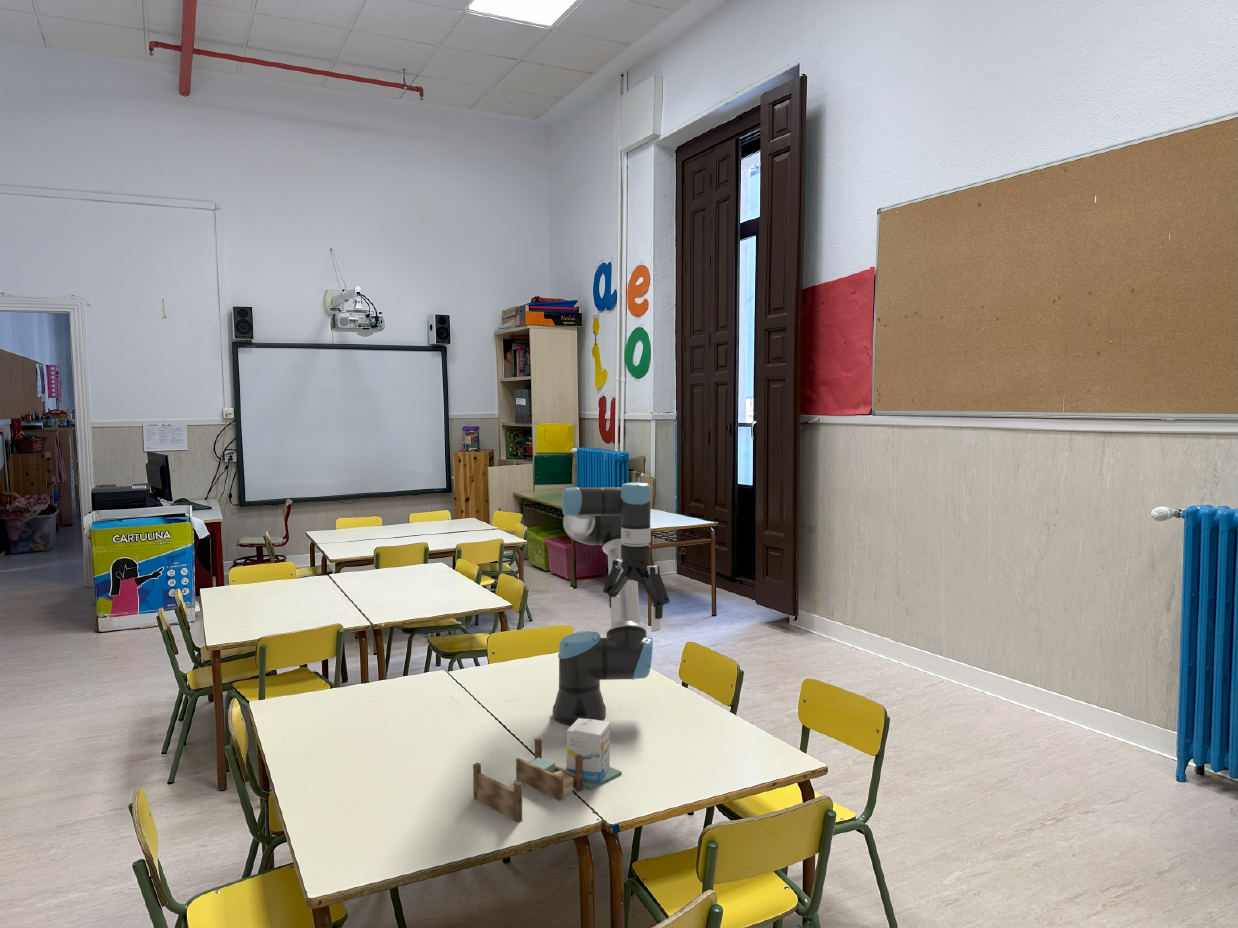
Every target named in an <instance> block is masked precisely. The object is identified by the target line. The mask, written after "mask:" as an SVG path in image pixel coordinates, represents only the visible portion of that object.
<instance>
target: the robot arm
mask: <svg viewBox="0 0 1238 928" xmlns="http://www.w3.org/2000/svg"><path fill="white" fill-rule="evenodd" d="M651 494H652V491H651V484H649V483H646V482H626V483H623V484H622V485H621V487H619V486H617V487H616V486H612V487H610V486H609V487H608V486H607V487H606V486H605V487H578V486H574V487H566V488H564V489H563V490H562V499H561V500H562V514H563V519H562V526H563V530H564V532H565V533H566V535H567V536H568V537H569V538H570V539H572V540H574V541H576V542H578V543H581V544H584V545H589V546H602V548H601V549H602V552H603V553H604V554H606V555H607V568H608V577H607V580H606V582H605V585H604V586H603V589H602V591H603V593H604V594H607V595H608V598H609V600H608V601H609V602H608V603H609V604H608V605H609V606H608V607H609V609H610V623H611V624H610V628H609V629H607V631H606V633H605V634H606V635H605V636H606V637H601V635H600V633H599V632H597V631H594V630H593V631H591V630H588V631H587V630H585V631H578V632H573V633H570V634H567V635H566V636H564V637H563V638H561V640H560V642H559V645H558V654H557V657H558V691H557V694H556V698H555V702H554V704H553V707H552V719H554V721H556V722H558V723H559V724H562V725H566V726H572V725H573V724H574V722H575V721H576V720H577V719H578V718H582V719H593V720H600V721H604V720H605V718H606V717H607V707H606V704H605V702H604V697H603V694H602V692H601V685H600V684H601V683H600V682H601V681H605V680H606V681H608V680H609V681H612V680H613V681H615V680H632V681H634V680H637V679H638V680H639V679H646V678H647V677H648V676H649V675H650V673H651V666H652V660H653V658H652V657H653V648H654V647H653V646H654V644H653V637H652V636H649V635H647V630H646V628H645V627H643V626H642V625H641V611H640V610H641V609H640V601H639V599H640V597H639V583H640V585H642V586H643V589H644V590H645V592H646V593H647V595H648V597H649V599H650V600H651V602H652V604H653V605H651V606H650V608H651V612H650V613H651V614H650V615H651V617H650V618H651V621H650V622H651V627H650V629H651V630H650V632H651V633H655V632H659V631H661V619H662V618H663V616H664V615H663V612H664V610H663V608H664V605H668V604H669V603H670V598H669V596H668V592H667V589H666V588H665V585H664V581H663V579H662V576H661V571H660V570H661V569H660V566H659V565H657V564H656V565H650V559H651V545H650V543H651V542H652V541H651V540H652V539H651V532H652V531H651V530H652V529H651V509H652V508H651V503H652V495H651ZM638 582H639V583H638Z"/></svg>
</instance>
